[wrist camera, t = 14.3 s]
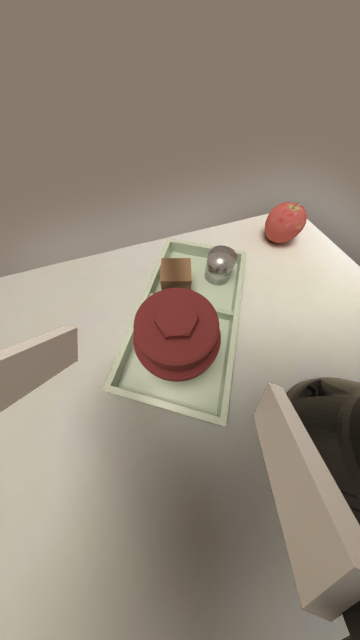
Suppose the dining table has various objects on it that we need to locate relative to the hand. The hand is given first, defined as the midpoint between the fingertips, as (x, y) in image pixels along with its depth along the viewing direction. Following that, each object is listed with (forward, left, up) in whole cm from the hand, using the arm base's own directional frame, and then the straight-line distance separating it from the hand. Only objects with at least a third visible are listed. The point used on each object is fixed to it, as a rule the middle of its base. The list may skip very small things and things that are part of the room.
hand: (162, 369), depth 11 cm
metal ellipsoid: (-3, -22, -14) cm, 27 cm away
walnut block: (+4, -17, -14) cm, 23 cm away
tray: (0, -12, -15) cm, 19 cm away
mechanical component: (0, -5, -14) cm, 15 cm away
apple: (-15, -37, -15) cm, 43 cm away
